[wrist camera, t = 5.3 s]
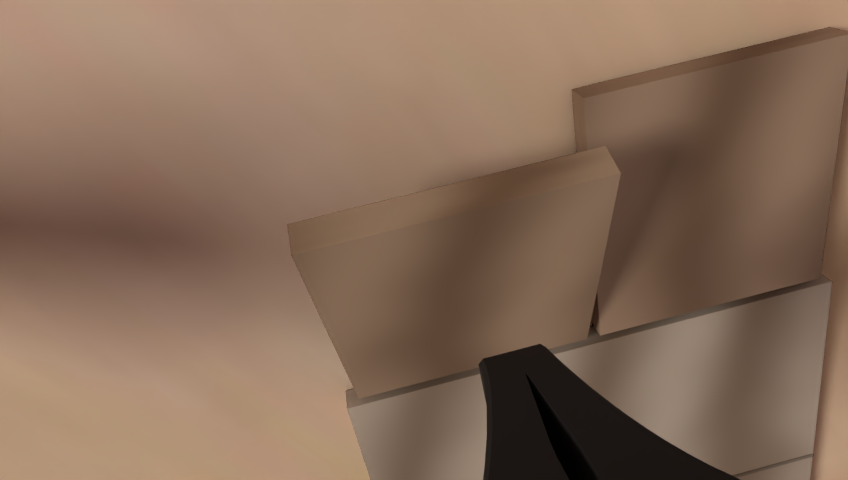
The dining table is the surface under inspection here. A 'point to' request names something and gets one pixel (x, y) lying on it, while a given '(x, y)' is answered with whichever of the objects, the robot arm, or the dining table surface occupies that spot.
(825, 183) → the plank
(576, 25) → the dining table surface
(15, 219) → the dining table surface
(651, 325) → the grey slab
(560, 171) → the plank
